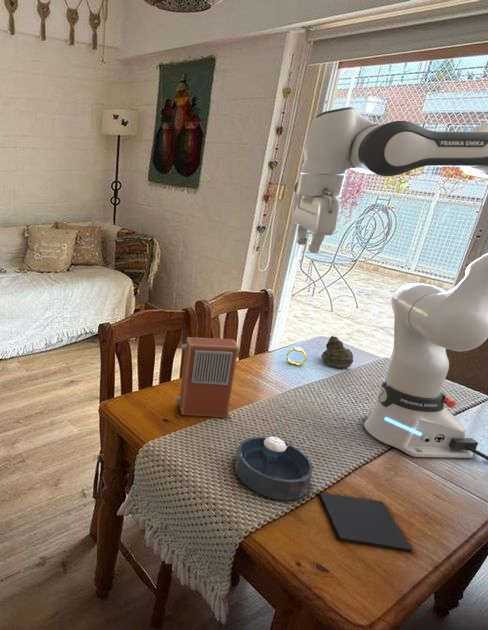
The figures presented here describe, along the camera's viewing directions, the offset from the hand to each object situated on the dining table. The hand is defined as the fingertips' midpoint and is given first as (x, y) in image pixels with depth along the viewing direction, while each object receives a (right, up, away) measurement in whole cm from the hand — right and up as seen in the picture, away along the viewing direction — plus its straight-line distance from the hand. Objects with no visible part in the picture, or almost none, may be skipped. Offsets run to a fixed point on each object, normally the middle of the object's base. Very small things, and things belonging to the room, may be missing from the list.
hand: (306, 248), depth 103 cm
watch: (+23, -33, +49) cm, 63 cm away
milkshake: (-11, -52, -4) cm, 53 cm away
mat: (+2, -57, -16) cm, 59 cm away
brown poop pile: (+37, -34, +48) cm, 69 cm away
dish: (-11, -52, -4) cm, 54 cm away
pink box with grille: (-18, -43, +20) cm, 51 cm away
